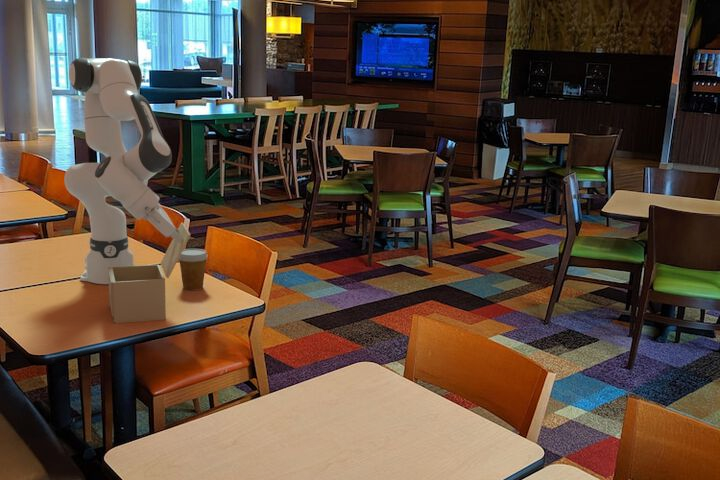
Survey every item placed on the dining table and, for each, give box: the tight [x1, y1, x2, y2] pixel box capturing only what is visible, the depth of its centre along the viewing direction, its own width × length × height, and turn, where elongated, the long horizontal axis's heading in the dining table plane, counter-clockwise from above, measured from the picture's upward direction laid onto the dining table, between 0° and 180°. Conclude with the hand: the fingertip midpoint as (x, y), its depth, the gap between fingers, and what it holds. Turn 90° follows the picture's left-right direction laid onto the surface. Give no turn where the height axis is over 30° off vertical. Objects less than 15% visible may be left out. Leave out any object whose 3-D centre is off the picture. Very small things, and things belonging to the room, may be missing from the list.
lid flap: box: [159, 222, 191, 279], centre depth 220 cm, size 16×14×1 cm
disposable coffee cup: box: [178, 248, 209, 291], centre depth 244 cm, size 10×10×12 cm
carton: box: [108, 264, 167, 324], centre depth 219 cm, size 16×15×12 cm
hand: (179, 237), depth 219 cm, fingers open, 8 cm apart
